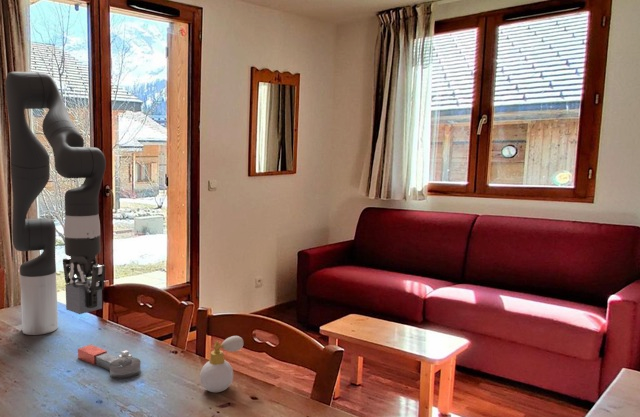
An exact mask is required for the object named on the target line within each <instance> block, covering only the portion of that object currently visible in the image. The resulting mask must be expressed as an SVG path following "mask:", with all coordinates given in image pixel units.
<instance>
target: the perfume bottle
mask: <svg viewBox="0 0 640 417" xmlns="http://www.w3.org/2000/svg"><path fill="white" fill-rule="evenodd" d="M243 346H244V339H243V337H241V336H239V335H232V336H229V337H227V338H225V339H224V340H223V341H222V343H220V342H219V341H218V340H216V341H215V343H214V346H213V349H214V350H211V352H210V358H209V360H207V361H206V363H204V365H203V366H202V367H201V370H200V375H199V378H200V383H201V385H202V387H203V388H204V389H205V390H206V391H207V392H211V393H220V392H224V391H225V390H227V389H228V388H229V387H230V386H231V384H232V383H233V379H234V369H233V367H232V365H231V364H230V362H228V361H227V360H225V358H224V351H227V352H238V351H240V350H241V349H242V348H243ZM220 348H221V349H223V350H224V351H223V350H221V349H220Z"/></svg>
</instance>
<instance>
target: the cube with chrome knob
mask: <svg viewBox="0 0 640 417" xmlns="http://www.w3.org/2000/svg"><path fill="white" fill-rule="evenodd" d="M98 285H99V282H98ZM90 287H91V282H90ZM86 293H87V290H86V287H85V284H83V283H82V281H78V282H75V283H70V284H69V283H68V284H66V283H65V306H66V307H65V309H66V310H67V311H70V312H73V313H75V314H77V315H82V314H85V313H91V312H93V311H97V310H102V309H103V289H102V290H99V291H97V307H94V308H87V294H86Z"/></svg>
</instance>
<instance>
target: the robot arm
mask: <svg viewBox="0 0 640 417" xmlns="http://www.w3.org/2000/svg"><path fill="white" fill-rule="evenodd" d="M4 86H5V87H4V88H5V89H4V90H5V100H6V108H7V114H8V122H9V123H8V124H9V137H10V138H9V140H10V146H9V147H10V178H11V179H10V180H11V187H12V188H11V190H12V226H11V228H12V229H11V230H12V231H11V232H12V234H11V235H12V243H13V247H14V249H15V251H18V252H33V251H35V252H36V251H42V252H41V253H40V255H38V256H37V257H36V256H35V257H34V258H33V259H30V260H27V261H25V262H23V263H21V265H20V266H19V278H20V280H19V281H20V284H19V285H20V311H21V329H22V333H23V334H25V335H29V336H38V335H45V334H50V333H52V332H55V331H56V330H57V329H59V323H58V321H59V320H58V319H59V317H58V290H57V288H58V286H57V266H56V264H57V263H56V242H57V238H56V237H57V230H56V223H55V221H54V219H52V218H50V217H45V218H44V217H41V218H27V215H28V212H29V210H30V208H31V206H32V204H33V203H34V202H35V200H36V199H37V198H38V196H40V194H41V193H42V192H43V190H44V189H45V188H46V186H47V185H48V182H49V180H50V178H51V177H50V176H51V174H50V172H51V171H50V170H51V168H50V163H51V162H50V155H49V153H48V151H47V149H46V147H45V146H44V145H43V143H42V142H41V141H40V140H39V138H38V137H37V136H36V134H34V133H33V131H32V129H31V128H30V126H29V125H28V122H27V119H26V114H25V110H41V109H42V110H43V109H48V111H47V112H46V114H45V116H44V118H43V120H42V132H43V135H44V137H45V139H46V141H47V142H48V143H49V145H50V147H51V148H52V152H53V159H54V160H53V161H54V168H55V171H56V173H57V174H58V175H59V176H61V177H63V178H65V179H84V181H83V183H82V185H80V186H78V187H73V188H71V189H68V190H66V191H65V193H64V225H63V226H64V228H63V229H64V231H63V232H64V254H65V256H68V257H66V258H63V259H62V266H63V267H62V268H63V274H64V275H63V276H64V282H65V285H66V284H70V283H75V282H78V281H82V283H83V284H85V287H86V290H87V293H86V294H87V308H94V307H97V291H99V290H102V291H103V290H104V289H105V288H104V287H105V278H106V277H105V275H106V265H105V264H102V265H101V264H98V262H97V256H98V255H99V254H100V253H101V252H102V247H101V246H102V245H101V223H100V222H101V221H100V216H99V213H100V212H99V211H100V210H99V208H100V207H99V196H100V190H101V187H102V186H101V185H102V182H103V179H104V175H105V173H106V172H105V171H106V167H107V160H106V156H105V154H104V152H103V151H102V150H100V148H98V147H94V146H93V147H91V146H90V147H89V146H88V147H87V146H86V147H85V141H84V138H83V136H82V133H81V132H80V131H79V130H78V128H77V127H76V125H75V124H74V122H73V120H72V119H71V117H70V114H69V113H68V110H67V108H66V105H65V103H64V99H63V97H62V94H61V92H60V90H59V86H58V85H57V83H56V82H55V80H54V78H53V77H52V75H50V74H48V73H46V72H41V71H40V72H38V71H37V72H36V71H11V72H10V71H9V72H8V73H7V75H6V77H5V84H4ZM90 282H91V287H90ZM98 283H99V285H98Z"/></svg>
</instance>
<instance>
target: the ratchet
mask: <svg viewBox="0 0 640 417" xmlns="http://www.w3.org/2000/svg"><path fill="white" fill-rule="evenodd" d="M77 358H78V359H80V360H82V361H84V362H87V363H89V364H91V365H93V366H98V367H100V368H103V369H106V370H108V371H109V377H110V378H112V379H114V380H128V379H132V378H135V377H137V376H139V375H140V374H141V369H142V368H141V367H142V366H141V359H139V358H138V357H133V355H132V354H130V351H129V350H126V349H124V350H121V354H120V355H119V354H118V356H115V355H114V354H110V353H108V350H106V349H103V348H101V347H98V346H95V345H93V344H89V345H86V346H82V347H79V348H77Z"/></svg>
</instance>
